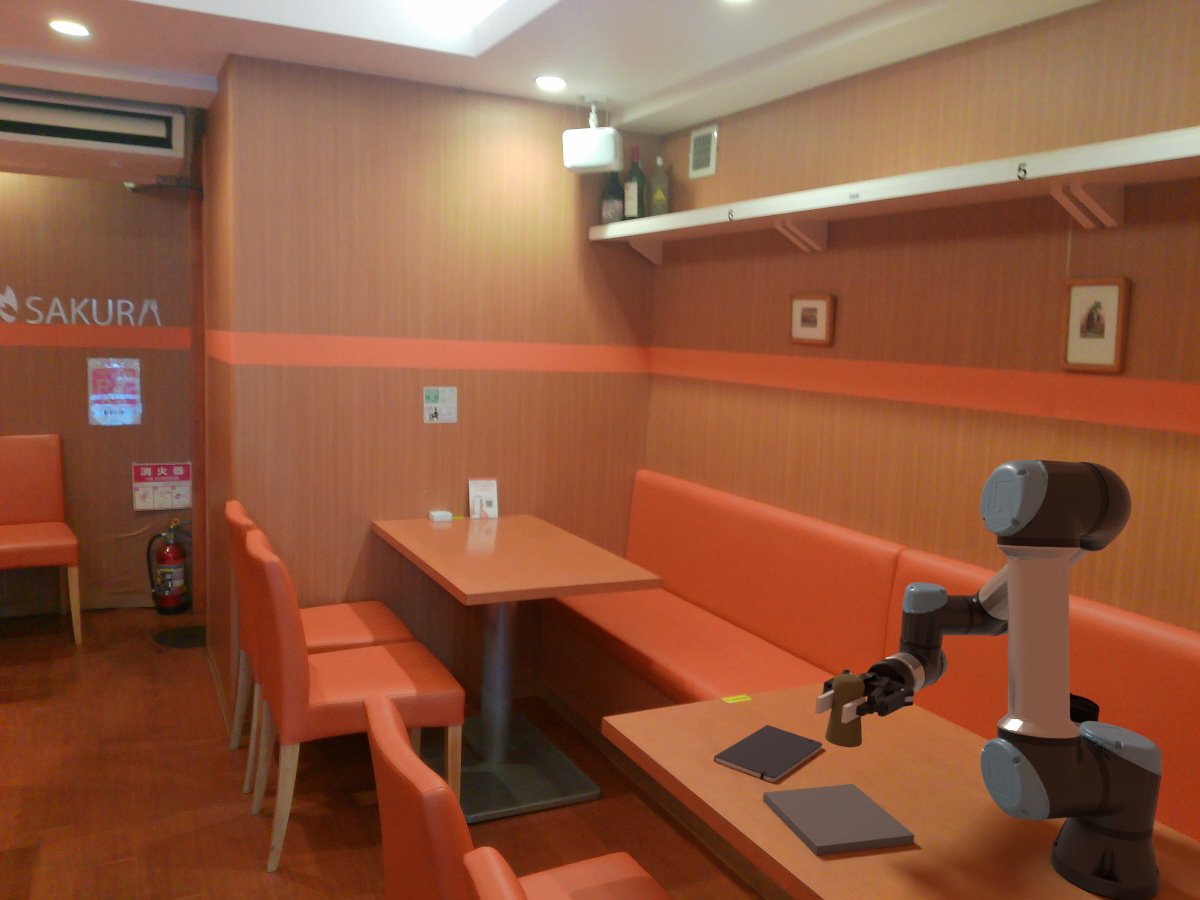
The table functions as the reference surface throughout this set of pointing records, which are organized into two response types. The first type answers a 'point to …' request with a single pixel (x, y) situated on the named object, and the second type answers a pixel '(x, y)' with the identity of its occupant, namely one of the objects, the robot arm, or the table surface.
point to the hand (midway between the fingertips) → (831, 710)
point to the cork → (839, 732)
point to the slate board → (837, 819)
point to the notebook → (769, 753)
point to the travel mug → (1082, 710)
